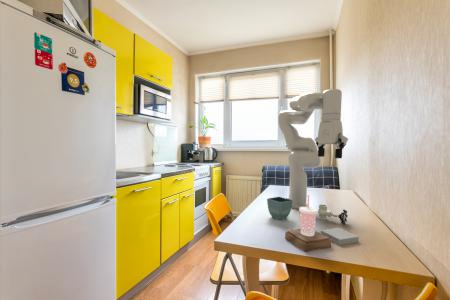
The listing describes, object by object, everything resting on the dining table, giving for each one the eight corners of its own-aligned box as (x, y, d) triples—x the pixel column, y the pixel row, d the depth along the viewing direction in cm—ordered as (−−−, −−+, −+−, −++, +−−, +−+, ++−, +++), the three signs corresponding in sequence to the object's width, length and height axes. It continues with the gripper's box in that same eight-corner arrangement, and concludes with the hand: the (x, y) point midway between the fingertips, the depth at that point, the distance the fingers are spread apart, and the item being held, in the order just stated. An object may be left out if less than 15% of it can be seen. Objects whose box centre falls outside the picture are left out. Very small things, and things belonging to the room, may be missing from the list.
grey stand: (320, 235, 86) (320, 230, 86) (337, 232, 89) (338, 227, 89) (339, 245, 77) (340, 239, 77) (358, 241, 80) (358, 236, 80)
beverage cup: (301, 229, 84) (302, 192, 83) (318, 233, 80) (319, 194, 80) (296, 234, 79) (297, 195, 78) (314, 238, 75) (315, 198, 75)
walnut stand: (285, 238, 82) (285, 230, 82) (308, 234, 86) (308, 226, 86) (305, 251, 72) (305, 242, 72) (331, 246, 76) (331, 238, 76)
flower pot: (278, 213, 112) (278, 196, 111) (292, 218, 105) (293, 200, 104) (266, 216, 106) (266, 198, 106) (280, 222, 99) (281, 202, 99)
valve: (315, 219, 105) (342, 226, 96) (315, 205, 104) (343, 211, 96) (320, 216, 109) (347, 223, 101) (321, 203, 109) (347, 208, 101)
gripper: (310, 119, 103) (308, 156, 104) (340, 115, 87) (339, 159, 88) (322, 120, 106) (321, 156, 106) (355, 117, 90) (353, 159, 90)
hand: (329, 157), depth 97 cm, fingers open, 9 cm apart
